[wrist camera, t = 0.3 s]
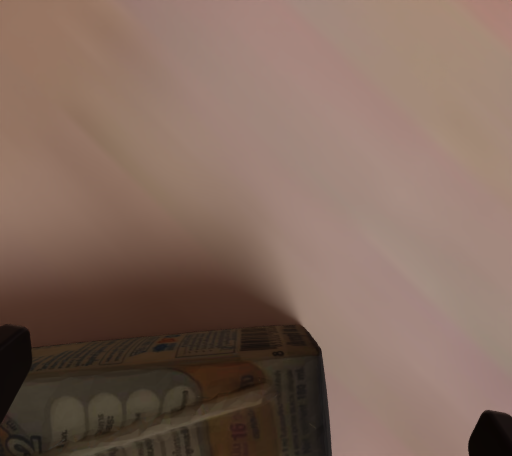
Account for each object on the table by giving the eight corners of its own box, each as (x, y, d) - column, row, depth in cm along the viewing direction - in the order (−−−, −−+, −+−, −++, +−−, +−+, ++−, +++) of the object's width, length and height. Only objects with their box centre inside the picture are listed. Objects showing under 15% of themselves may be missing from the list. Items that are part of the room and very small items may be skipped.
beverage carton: (-57, 345, 23) (-171, 391, 17) (308, 314, 24) (335, 347, 18) (-45, 498, 23) (-155, 603, 17) (319, 461, 24) (350, 548, 18)
